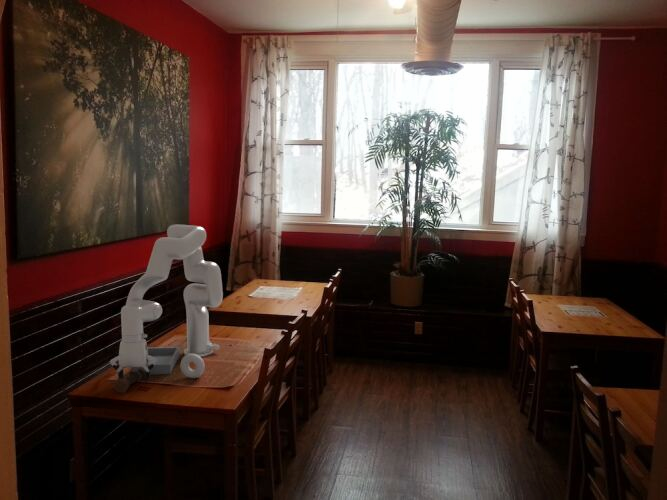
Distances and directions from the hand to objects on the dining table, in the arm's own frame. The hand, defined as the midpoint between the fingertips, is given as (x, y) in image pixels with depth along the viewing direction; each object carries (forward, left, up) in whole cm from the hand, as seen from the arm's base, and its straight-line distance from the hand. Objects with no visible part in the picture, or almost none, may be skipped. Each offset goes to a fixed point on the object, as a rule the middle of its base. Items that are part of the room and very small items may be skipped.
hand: (134, 380), depth 205 cm
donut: (-21, -5, -2) cm, 22 cm away
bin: (-4, -20, -1) cm, 21 cm away
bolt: (+1, 0, -2) cm, 2 cm away
